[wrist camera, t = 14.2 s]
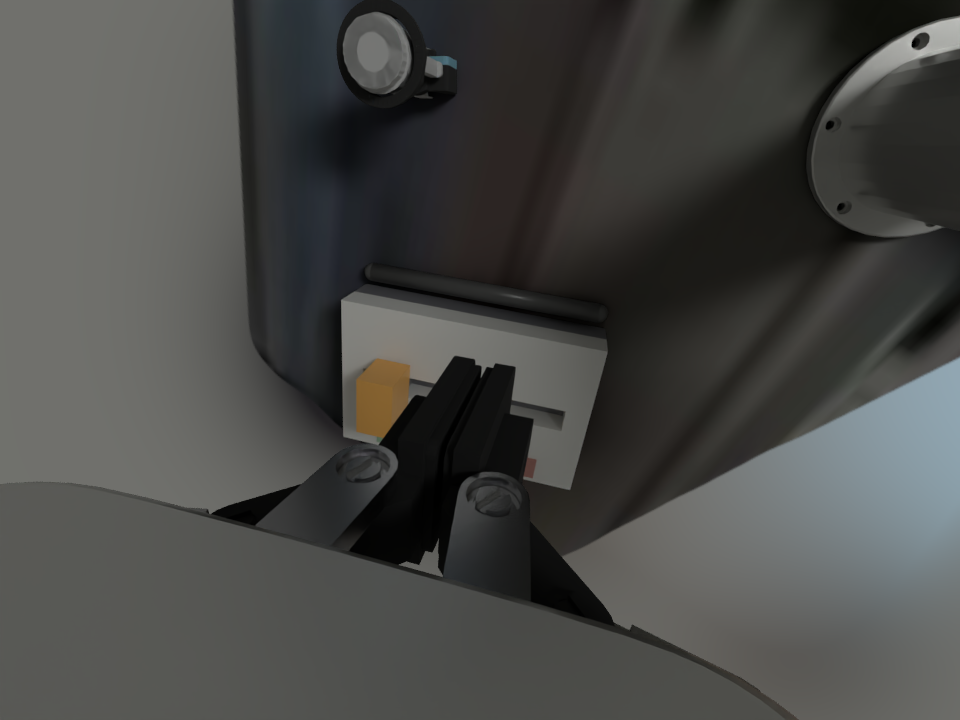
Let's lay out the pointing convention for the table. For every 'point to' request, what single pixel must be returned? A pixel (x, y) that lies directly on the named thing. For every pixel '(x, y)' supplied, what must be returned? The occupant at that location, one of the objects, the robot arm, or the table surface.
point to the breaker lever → (381, 396)
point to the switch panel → (482, 353)
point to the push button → (390, 57)
